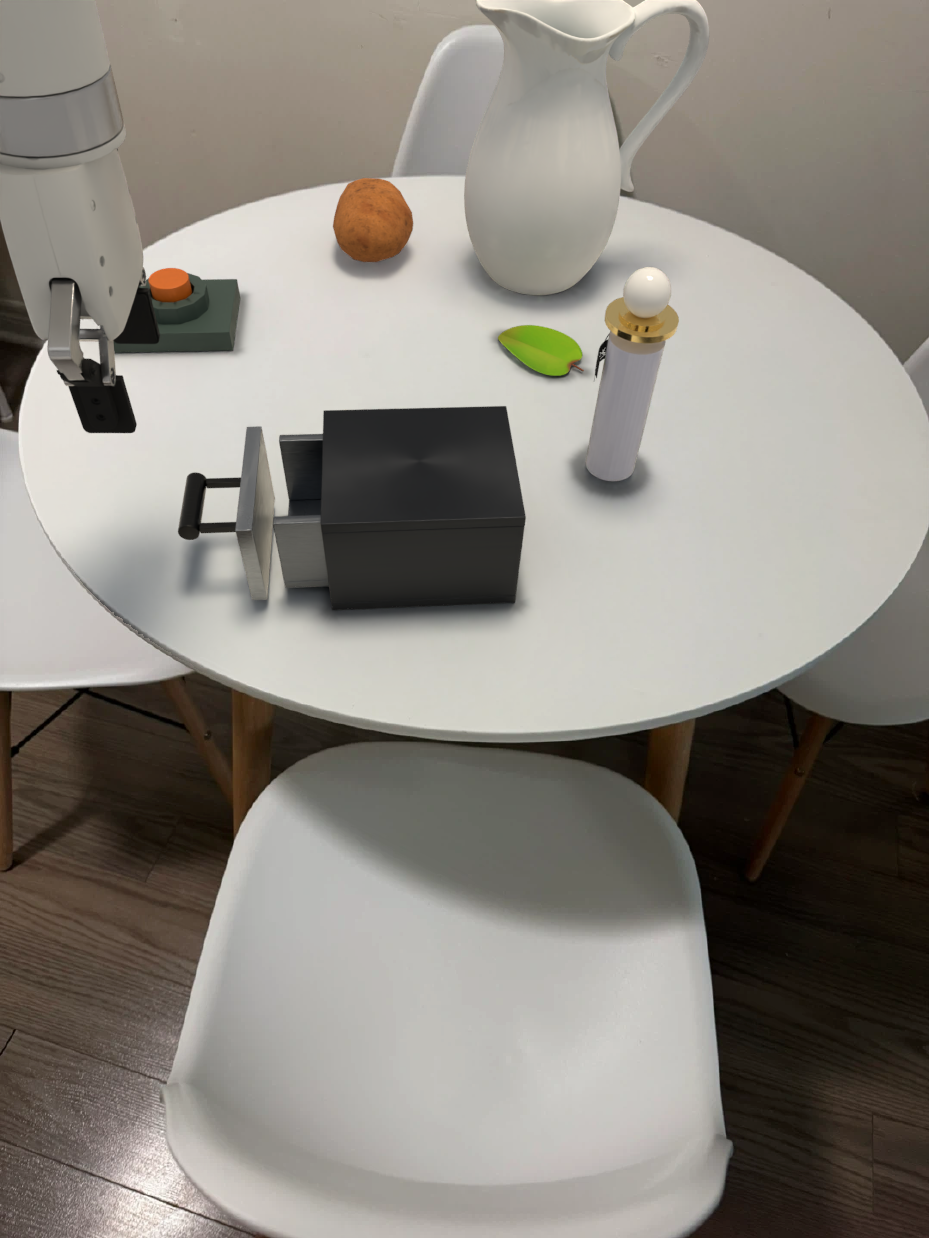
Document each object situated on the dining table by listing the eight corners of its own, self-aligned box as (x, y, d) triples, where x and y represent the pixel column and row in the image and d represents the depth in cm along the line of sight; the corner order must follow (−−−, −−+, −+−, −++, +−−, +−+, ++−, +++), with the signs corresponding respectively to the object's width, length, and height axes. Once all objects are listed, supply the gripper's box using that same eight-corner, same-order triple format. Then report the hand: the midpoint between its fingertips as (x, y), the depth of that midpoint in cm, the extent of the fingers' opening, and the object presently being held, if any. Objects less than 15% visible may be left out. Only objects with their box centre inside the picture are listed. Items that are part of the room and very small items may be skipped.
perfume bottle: (650, 466, 82) (703, 266, 67) (621, 500, 79) (669, 300, 64) (596, 442, 84) (635, 242, 68) (566, 474, 81) (600, 274, 65)
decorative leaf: (523, 387, 90) (524, 380, 89) (493, 335, 94) (493, 327, 94) (592, 370, 91) (593, 362, 90) (559, 319, 96) (559, 312, 95)
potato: (419, 233, 107) (419, 170, 102) (405, 282, 100) (404, 218, 95) (345, 226, 108) (340, 163, 102) (326, 274, 101) (320, 210, 95)
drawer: (187, 603, 69) (163, 533, 63) (202, 500, 76) (182, 428, 70) (423, 593, 70) (423, 524, 64) (416, 493, 78) (416, 422, 71)
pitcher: (473, 315, 97) (488, 24, 75) (451, 237, 107) (458, -39, 85) (681, 303, 100) (753, 21, 78) (640, 228, 110) (693, -40, 88)
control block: (114, 353, 90) (103, 318, 87) (129, 298, 96) (119, 264, 93) (233, 350, 91) (226, 316, 88) (240, 297, 97) (234, 263, 94)
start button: (149, 304, 90) (145, 289, 88) (155, 283, 92) (151, 267, 91) (189, 304, 90) (186, 288, 89) (194, 283, 92) (190, 267, 91)
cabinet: (332, 610, 70) (320, 524, 63) (333, 499, 78) (323, 410, 70) (515, 602, 71) (525, 517, 64) (498, 493, 79) (506, 405, 72)
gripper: (12, 45, 51) (93, 311, 64) (-86, 184, 40) (36, 470, 53) (145, 50, 51) (198, 313, 65) (84, 188, 41) (163, 470, 54)
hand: (125, 383), depth 59 cm, fingers open, 9 cm apart
